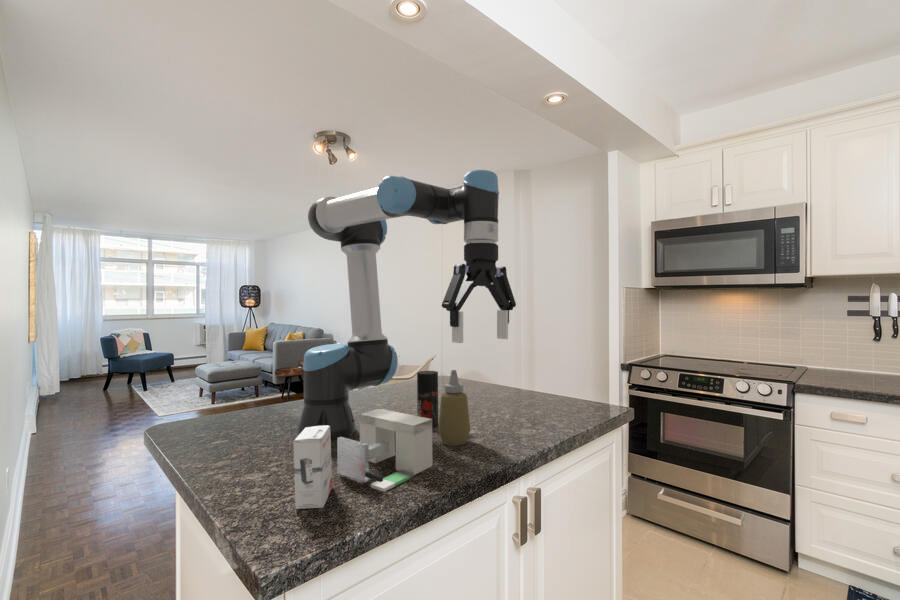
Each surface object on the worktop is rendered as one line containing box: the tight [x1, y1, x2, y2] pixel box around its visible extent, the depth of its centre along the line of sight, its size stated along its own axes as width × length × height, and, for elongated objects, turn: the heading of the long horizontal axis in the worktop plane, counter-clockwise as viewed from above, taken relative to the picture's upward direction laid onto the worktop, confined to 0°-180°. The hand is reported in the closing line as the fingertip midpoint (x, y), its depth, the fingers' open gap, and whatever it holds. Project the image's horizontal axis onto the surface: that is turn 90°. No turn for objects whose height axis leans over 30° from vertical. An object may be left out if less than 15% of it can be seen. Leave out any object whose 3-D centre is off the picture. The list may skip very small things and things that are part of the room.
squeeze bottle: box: [437, 369, 471, 447], centre depth 107 cm, size 8×8×18 cm
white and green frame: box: [359, 408, 433, 493], centre depth 90 cm, size 16×15×10 cm
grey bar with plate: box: [336, 437, 389, 483], centre depth 87 cm, size 12×10×7 cm
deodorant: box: [416, 370, 439, 429], centre depth 122 cm, size 6×6×15 cm
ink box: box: [292, 425, 333, 510], centre depth 77 cm, size 9×5×12 cm, turn 5°
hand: (481, 340), depth 94 cm, fingers open, 13 cm apart
